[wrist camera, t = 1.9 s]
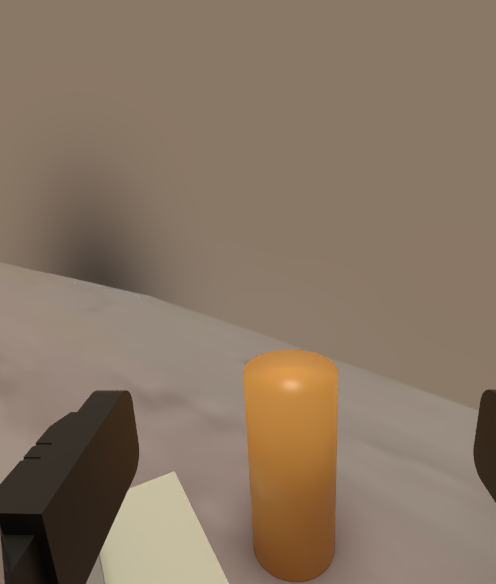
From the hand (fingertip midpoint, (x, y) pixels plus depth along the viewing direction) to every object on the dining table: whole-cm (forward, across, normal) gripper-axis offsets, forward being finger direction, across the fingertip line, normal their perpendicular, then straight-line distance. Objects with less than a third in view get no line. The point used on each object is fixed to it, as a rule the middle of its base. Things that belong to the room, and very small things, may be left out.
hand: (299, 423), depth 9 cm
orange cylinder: (+11, 0, +17) cm, 20 cm away
